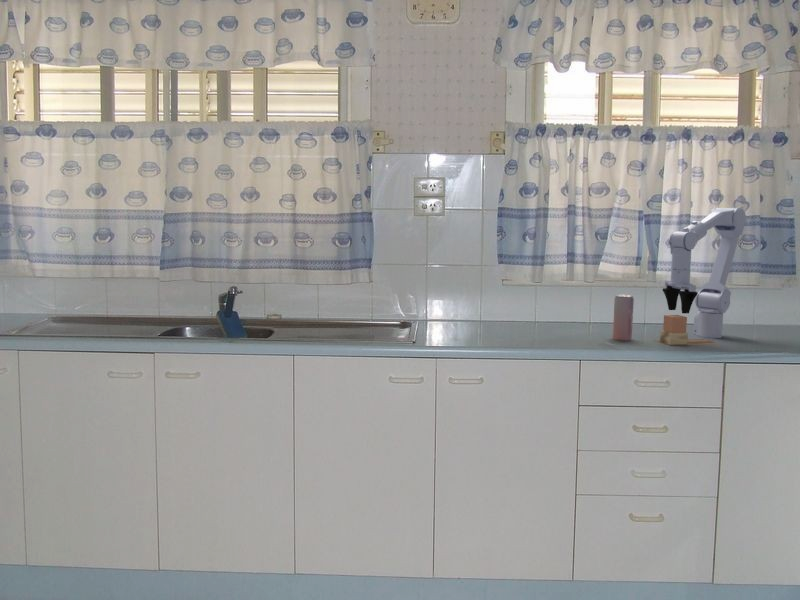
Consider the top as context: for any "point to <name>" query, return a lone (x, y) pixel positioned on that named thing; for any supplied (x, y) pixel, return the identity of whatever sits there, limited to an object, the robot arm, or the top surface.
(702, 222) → the robot arm
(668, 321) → the terracotta block
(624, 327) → the beverage can
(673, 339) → the birch block
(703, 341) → the base plate
